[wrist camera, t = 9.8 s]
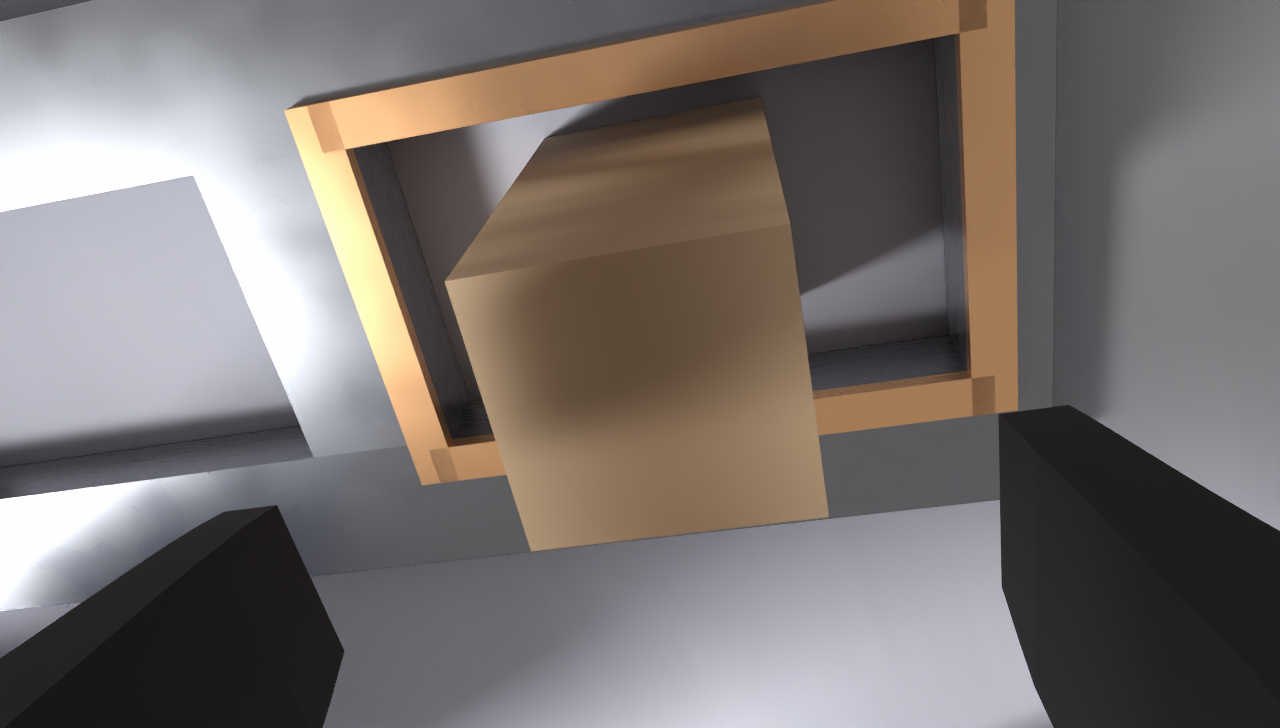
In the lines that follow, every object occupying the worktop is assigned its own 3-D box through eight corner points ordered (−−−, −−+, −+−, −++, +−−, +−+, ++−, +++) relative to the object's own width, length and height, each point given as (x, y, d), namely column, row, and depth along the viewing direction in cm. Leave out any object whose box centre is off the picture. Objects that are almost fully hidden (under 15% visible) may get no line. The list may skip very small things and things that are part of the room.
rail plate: (-38, 578, 23) (-95, 629, 21) (-361, 106, 18) (-468, 126, 16) (1028, 451, 19) (1057, 503, 17) (1025, -209, 14) (1067, -223, 12)
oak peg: (592, 330, 18) (531, 551, 12) (544, 137, 17) (444, 281, 10) (788, 300, 18) (828, 516, 12) (760, 96, 16) (790, 223, 10)
